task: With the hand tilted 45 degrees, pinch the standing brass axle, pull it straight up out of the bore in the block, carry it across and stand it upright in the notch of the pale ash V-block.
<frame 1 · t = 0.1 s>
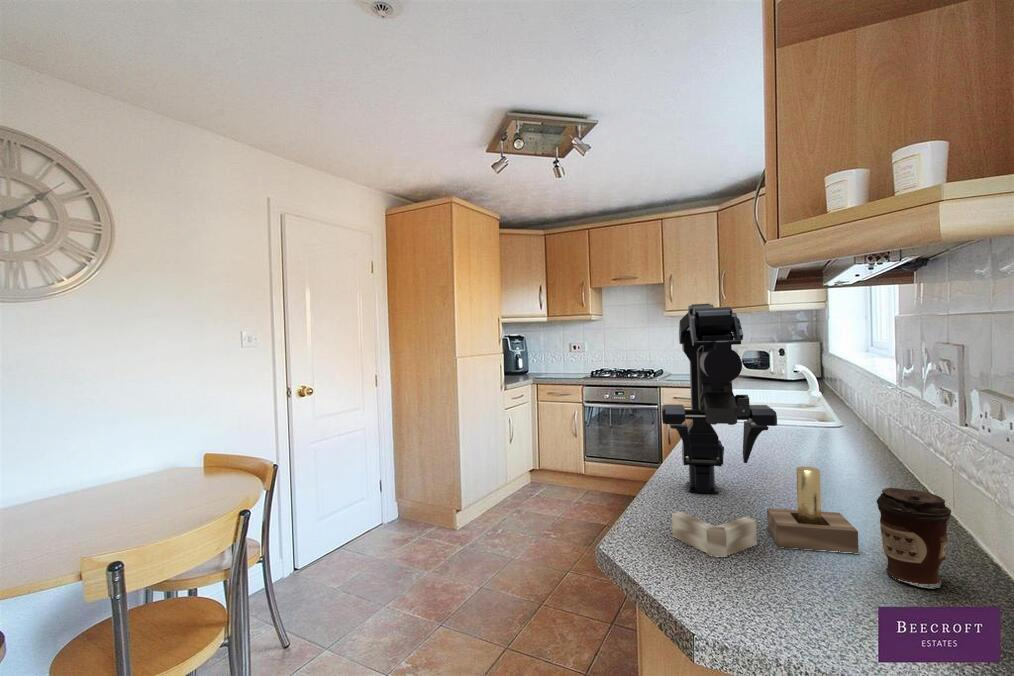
hand: (717, 461, 86), 15 cm above the countertop, tool pointing down, fingers open, 9 cm apart
axle: (809, 505, 85), in the bore block
bore block: (810, 540, 85), on the countertop
v block: (713, 541, 86), on the countertop
coffee cup: (913, 580, 71), on the countertop
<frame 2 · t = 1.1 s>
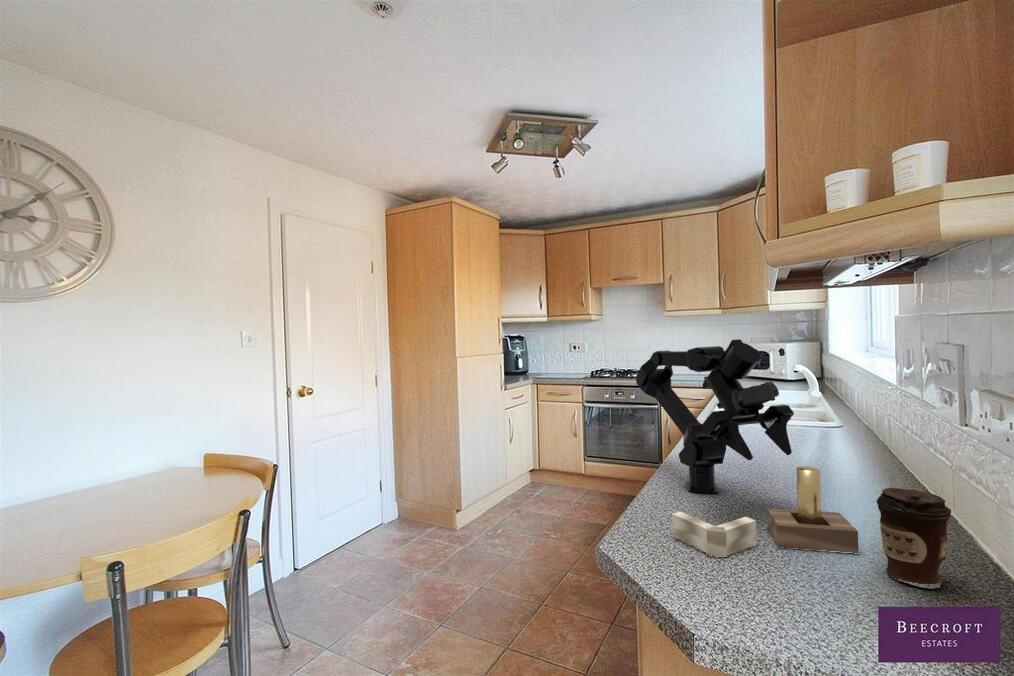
hand: (770, 456, 92), 13 cm above the countertop, tool tilted 45°, fingers open, 9 cm apart
nothing on the countertop moved.
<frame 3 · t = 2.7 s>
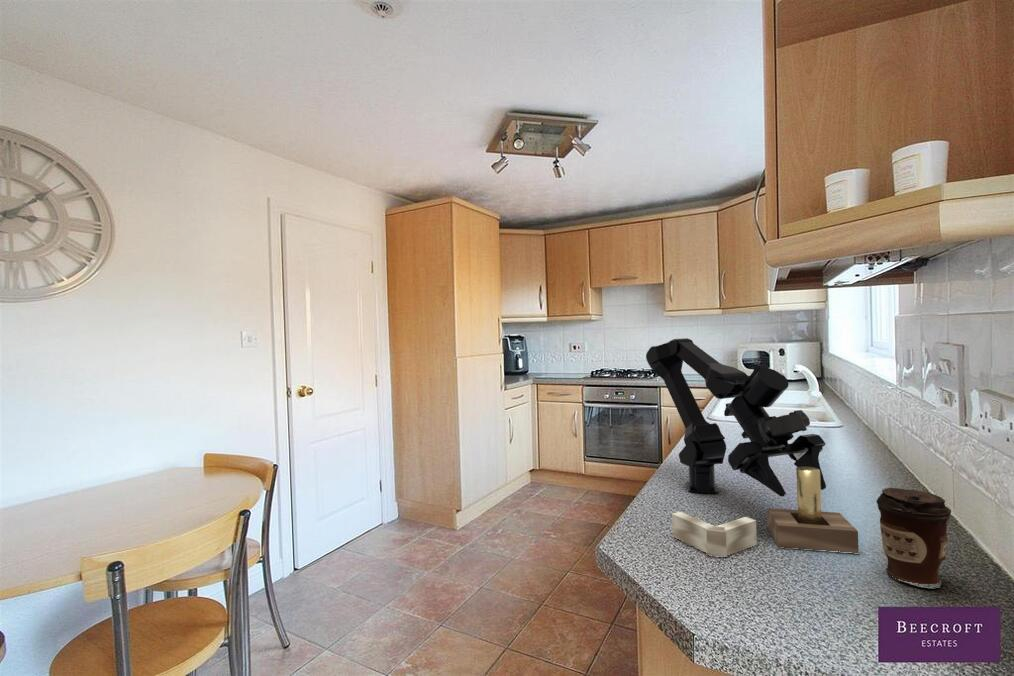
hand: (804, 492, 86), 9 cm above the countertop, tool tilted 45°, fingers open, 9 cm apart
nothing on the countertop moved.
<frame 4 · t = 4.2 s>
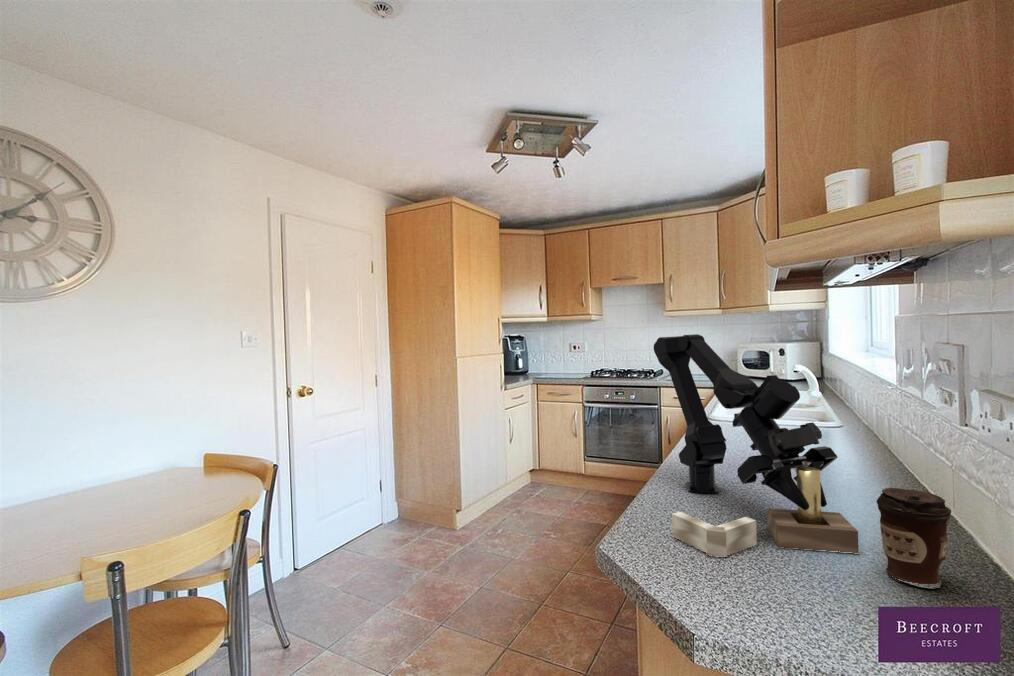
hand: (816, 507, 83), 7 cm above the countertop, tool tilted 45°, fingers closed on axle, 4 cm apart
axle: (809, 505, 85), in the bore block, touching gripper
everything else where it was.
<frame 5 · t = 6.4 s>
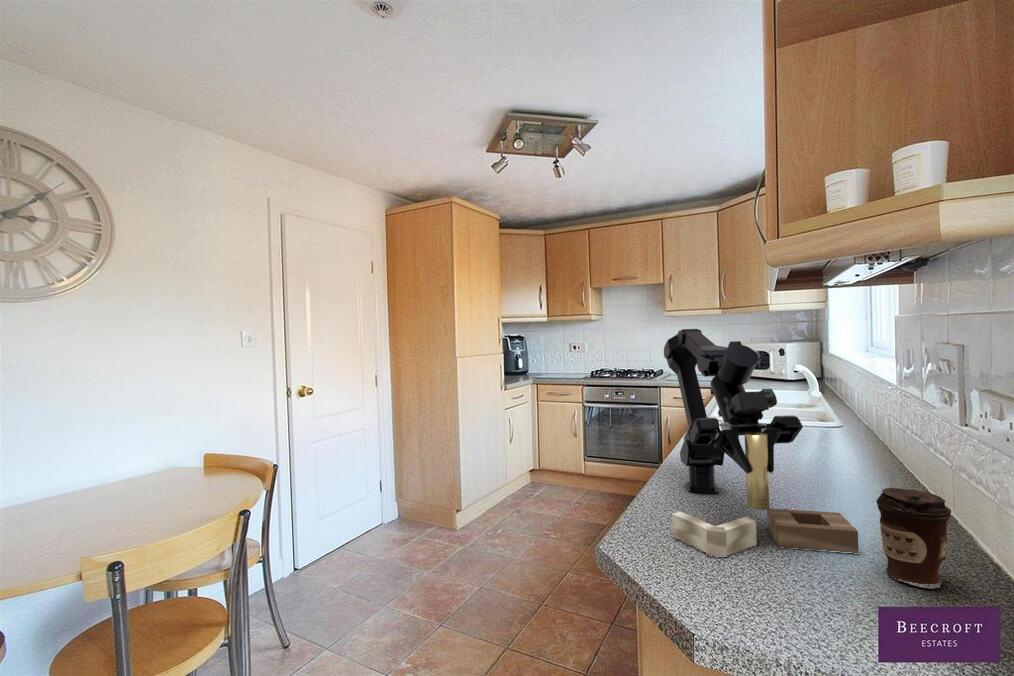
hand: (760, 472, 83), 13 cm above the countertop, tool tilted 45°, fingers closed on axle, 4 cm apart
axle: (756, 470, 84), point 13 cm above the countertop, touching gripper
everything else where it was.
when the fingers open (7 cm above the countertop, at t = 8.7 s): axle stays where it is, on the countertop.
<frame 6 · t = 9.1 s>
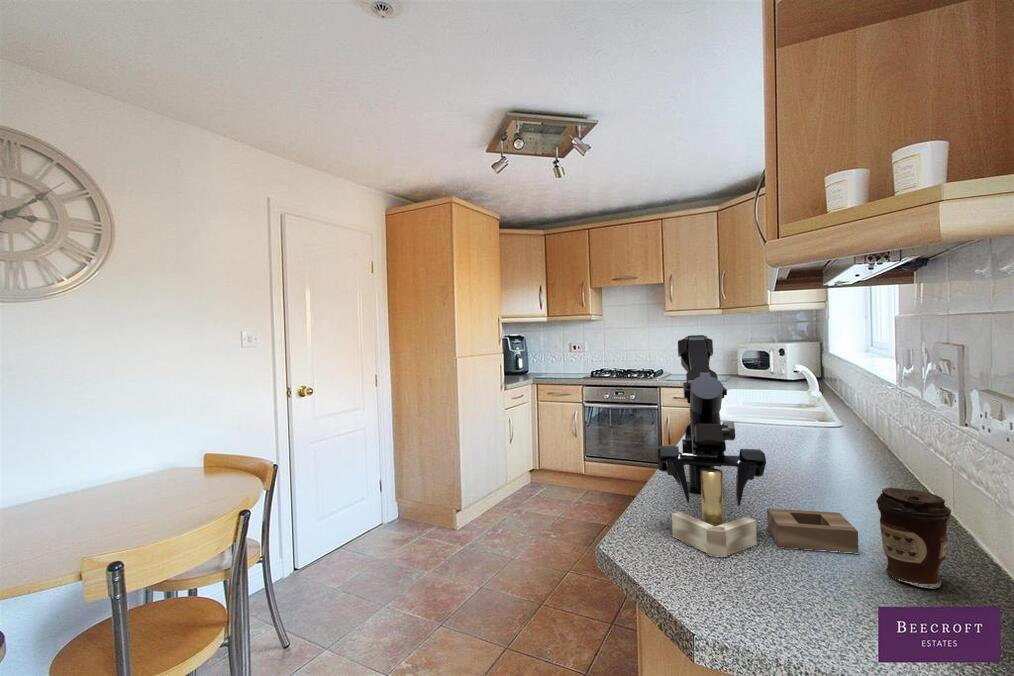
hand: (713, 503, 85), 8 cm above the countertop, tool tilted 45°, fingers open, 8 cm apart
axle: (712, 506, 86), in the v block
everything else where it was.
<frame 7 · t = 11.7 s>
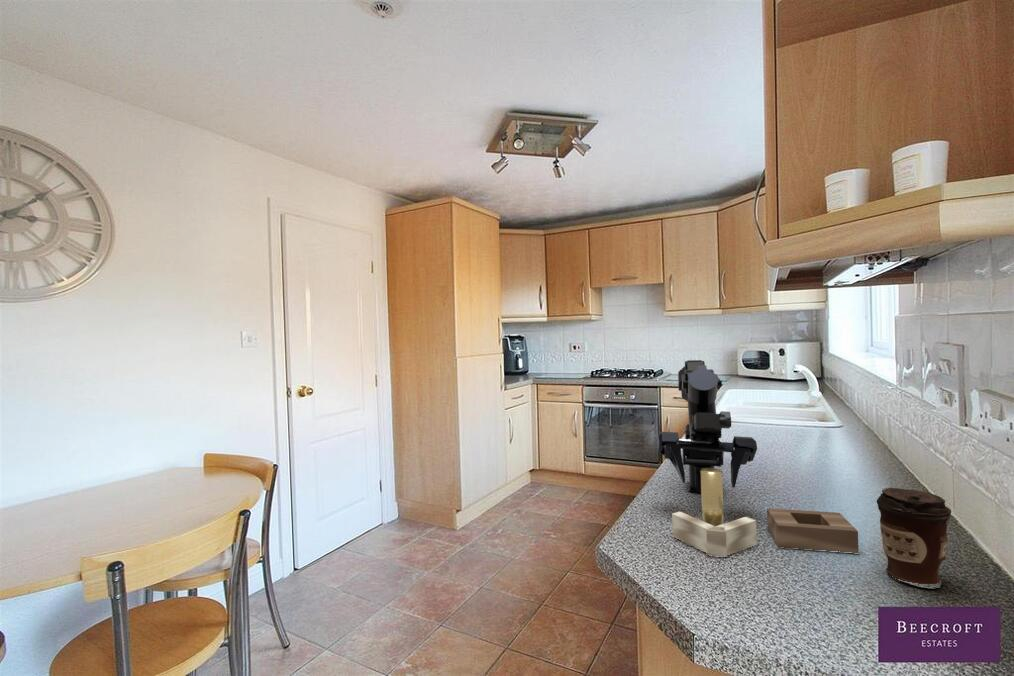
hand: (708, 484, 93), 8 cm above the countertop, tool tilted 45°, fingers open, 9 cm apart
nothing on the countertop moved.
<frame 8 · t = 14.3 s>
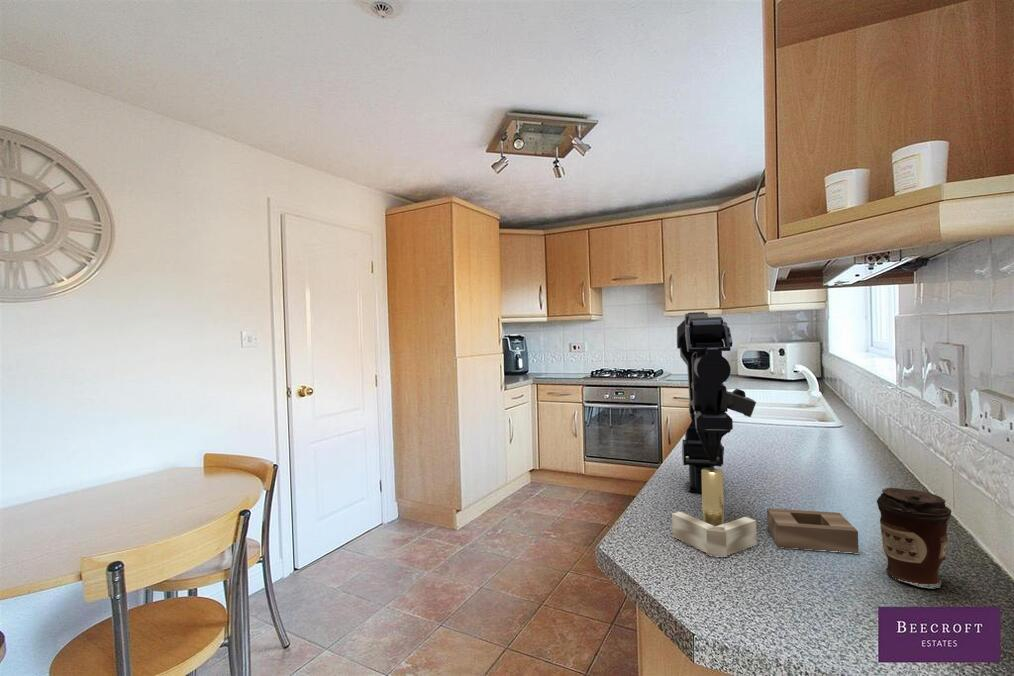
hand: (709, 455, 96), 13 cm above the countertop, tool pointing down, fingers open, 9 cm apart
nothing on the countertop moved.
at the end: axle 0.0 cm off-centre on the v block, point 6.5 cm above the v block's base; axle tilted 1°; the gripper is holding nothing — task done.
